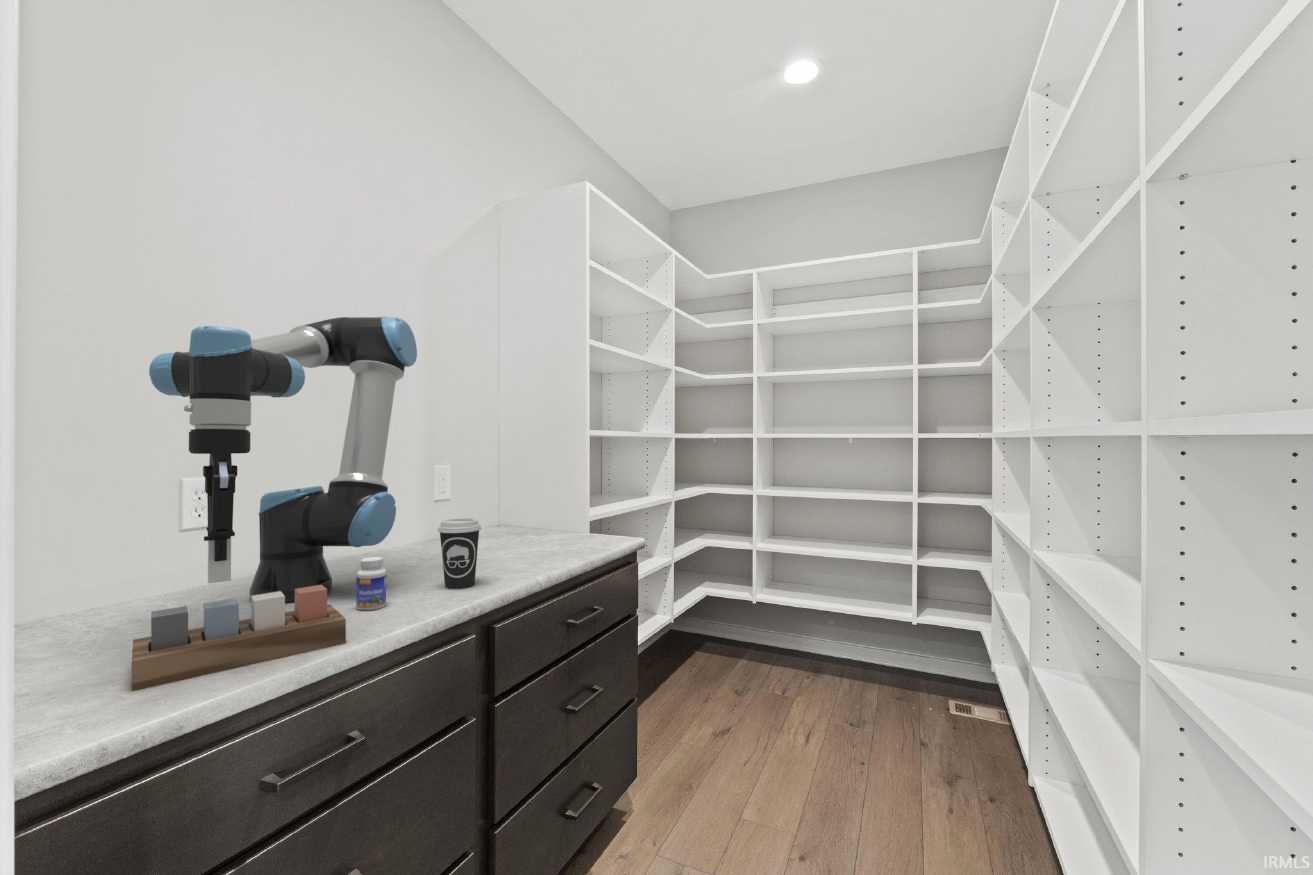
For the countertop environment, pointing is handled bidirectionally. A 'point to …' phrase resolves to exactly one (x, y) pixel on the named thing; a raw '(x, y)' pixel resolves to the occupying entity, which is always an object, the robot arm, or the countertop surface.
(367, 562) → the pill bottle
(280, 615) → the key ivory
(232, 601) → the key blue
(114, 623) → the countertop surface
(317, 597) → the key brick
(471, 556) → the coffee cup
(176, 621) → the key charcoal
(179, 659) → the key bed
